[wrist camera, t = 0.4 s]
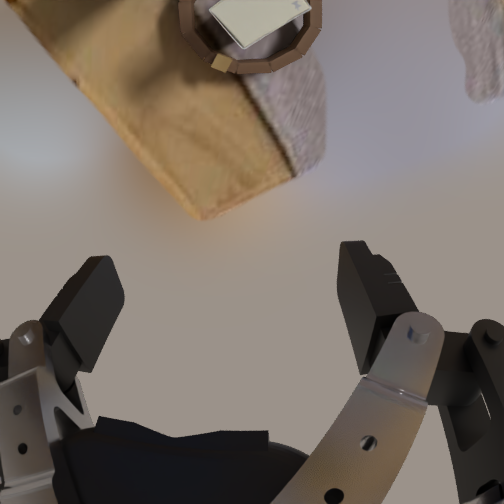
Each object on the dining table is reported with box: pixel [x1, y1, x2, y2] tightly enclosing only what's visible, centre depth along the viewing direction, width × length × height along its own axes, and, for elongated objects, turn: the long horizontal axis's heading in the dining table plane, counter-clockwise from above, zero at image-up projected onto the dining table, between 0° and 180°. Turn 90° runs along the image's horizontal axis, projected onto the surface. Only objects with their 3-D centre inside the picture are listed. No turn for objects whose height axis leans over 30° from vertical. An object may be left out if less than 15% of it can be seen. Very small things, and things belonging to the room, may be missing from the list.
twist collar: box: [178, 0, 322, 74], centre depth 22 cm, size 14×14×4 cm
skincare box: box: [209, 0, 312, 49], centre depth 19 cm, size 6×4×12 cm
